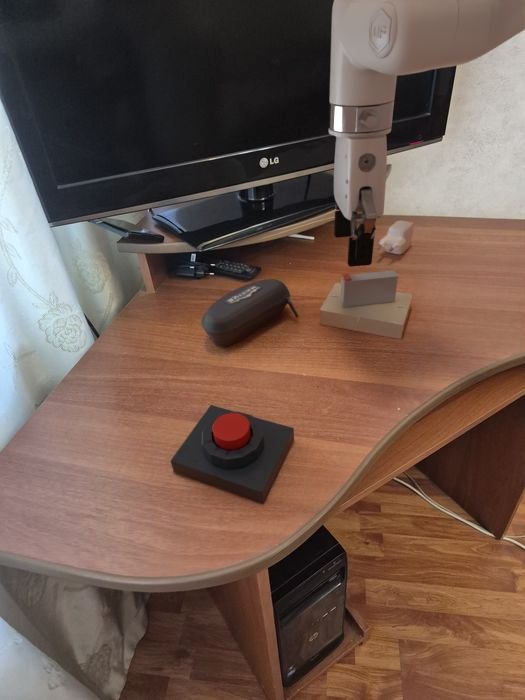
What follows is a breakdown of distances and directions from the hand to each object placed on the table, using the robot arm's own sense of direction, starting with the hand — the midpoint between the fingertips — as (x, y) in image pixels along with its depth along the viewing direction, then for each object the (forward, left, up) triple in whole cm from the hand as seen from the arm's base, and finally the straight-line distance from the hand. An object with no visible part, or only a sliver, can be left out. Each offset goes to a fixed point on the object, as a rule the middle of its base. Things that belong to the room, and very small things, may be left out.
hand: (351, 249), depth 63 cm
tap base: (-2, -7, -16) cm, 18 cm away
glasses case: (+16, +3, -16) cm, 23 cm away
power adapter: (-2, -33, -16) cm, 37 cm away
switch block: (+6, +29, -16) cm, 33 cm away
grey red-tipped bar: (-2, -7, -13) cm, 15 cm away
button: (+6, +29, -12) cm, 32 cm away
